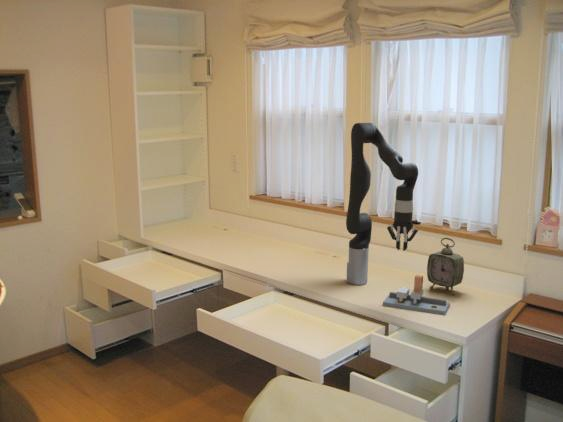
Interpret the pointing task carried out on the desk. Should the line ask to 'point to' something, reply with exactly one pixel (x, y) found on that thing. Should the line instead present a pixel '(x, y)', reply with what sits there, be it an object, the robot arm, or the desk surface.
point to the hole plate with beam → (424, 304)
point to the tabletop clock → (445, 268)
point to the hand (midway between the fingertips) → (401, 249)
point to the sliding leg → (417, 289)
